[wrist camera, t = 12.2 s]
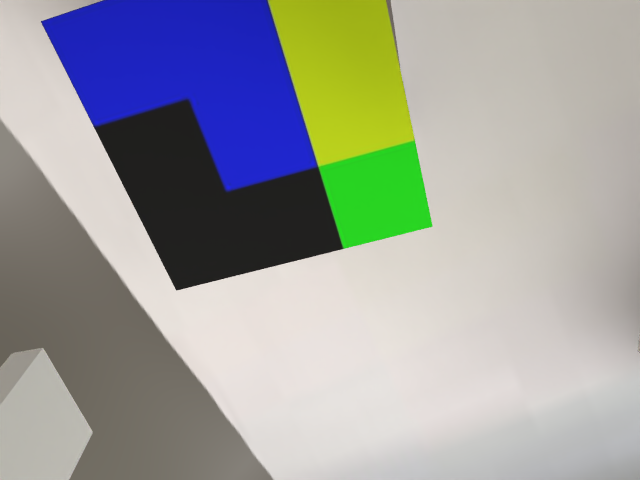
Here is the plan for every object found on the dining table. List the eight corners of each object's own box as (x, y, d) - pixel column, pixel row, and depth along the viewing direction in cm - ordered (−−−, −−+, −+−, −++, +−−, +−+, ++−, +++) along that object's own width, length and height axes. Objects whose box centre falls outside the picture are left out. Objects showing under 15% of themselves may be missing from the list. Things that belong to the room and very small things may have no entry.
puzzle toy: (142, 0, 24) (40, 21, 15) (349, -69, 23) (367, -89, 14) (220, 189, 29) (176, 290, 20) (396, 141, 27) (432, 226, 19)
